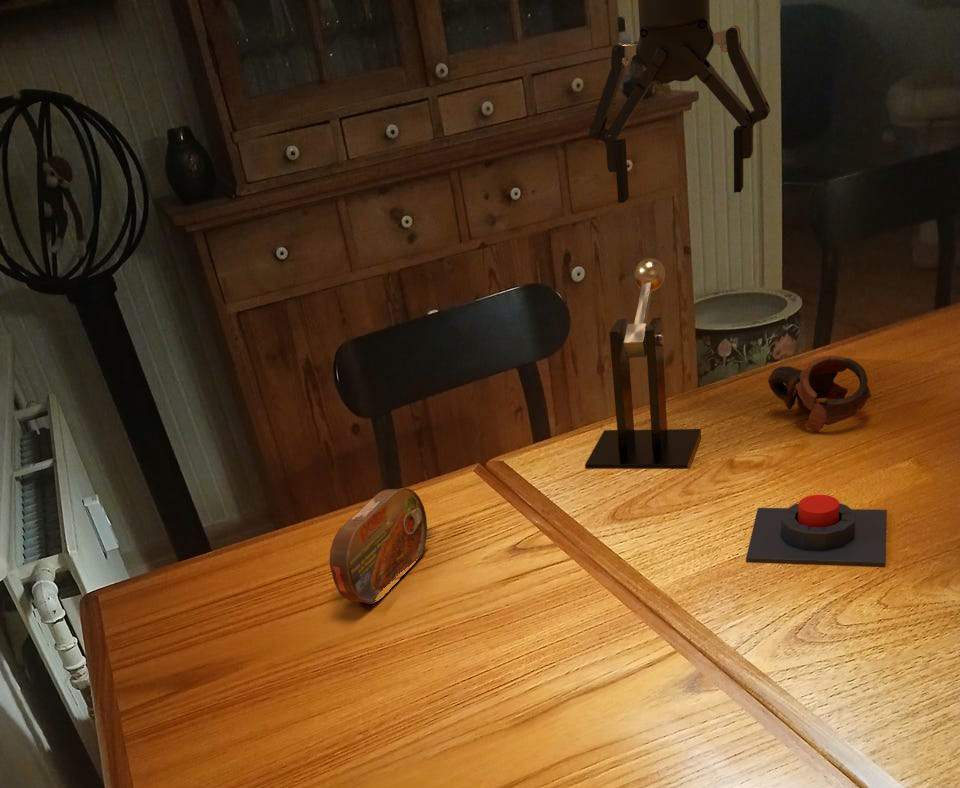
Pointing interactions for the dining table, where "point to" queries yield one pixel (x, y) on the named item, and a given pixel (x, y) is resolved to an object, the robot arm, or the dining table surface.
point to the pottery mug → (820, 389)
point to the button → (818, 511)
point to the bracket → (659, 442)
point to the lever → (643, 305)
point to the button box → (819, 538)
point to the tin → (378, 544)
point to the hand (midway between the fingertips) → (680, 195)
